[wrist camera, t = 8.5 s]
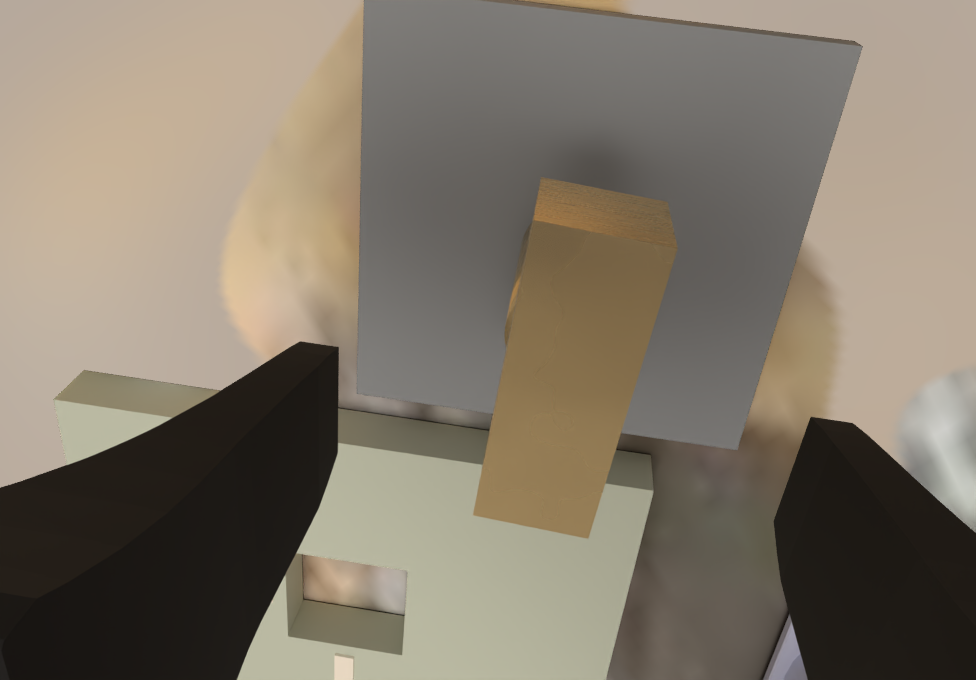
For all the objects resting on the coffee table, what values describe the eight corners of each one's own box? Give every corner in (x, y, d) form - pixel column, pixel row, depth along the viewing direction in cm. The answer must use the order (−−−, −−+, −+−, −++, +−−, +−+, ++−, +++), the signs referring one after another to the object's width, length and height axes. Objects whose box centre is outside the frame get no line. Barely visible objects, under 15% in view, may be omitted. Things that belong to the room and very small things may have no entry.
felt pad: (854, 41, 17) (862, 46, 16) (734, 436, 22) (737, 450, 21) (371, -17, 17) (364, -14, 17) (362, 381, 22) (356, 393, 22)
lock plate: (650, 455, 22) (653, 493, 21) (583, 730, 28) (582, 774, 27) (83, 370, 23) (51, 401, 22) (135, 654, 29) (111, 693, 28)
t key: (594, 370, 20) (593, 539, 15) (499, 351, 21) (467, 514, 15) (657, 137, 17) (684, 249, 12) (547, 115, 17) (527, 218, 12)
